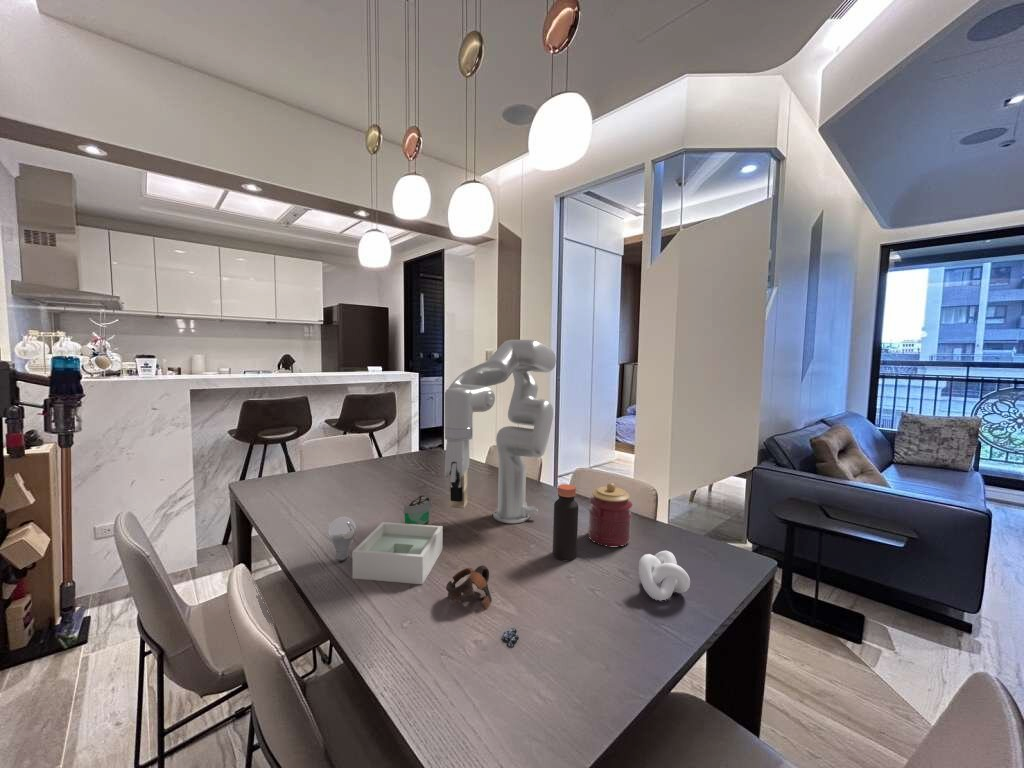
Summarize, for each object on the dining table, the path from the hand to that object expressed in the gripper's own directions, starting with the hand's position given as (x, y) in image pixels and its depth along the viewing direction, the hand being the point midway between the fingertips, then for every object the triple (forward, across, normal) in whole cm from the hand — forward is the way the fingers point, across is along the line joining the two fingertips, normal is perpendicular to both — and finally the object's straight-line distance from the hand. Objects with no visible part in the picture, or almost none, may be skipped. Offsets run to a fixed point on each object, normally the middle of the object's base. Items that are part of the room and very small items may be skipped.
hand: (458, 497), depth 116 cm
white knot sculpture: (+17, +10, +53) cm, 56 cm away
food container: (+17, -13, -15) cm, 27 cm away
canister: (+18, -17, +44) cm, 50 cm away
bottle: (+17, -4, +30) cm, 35 cm away
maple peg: (+2, 0, 0) cm, 2 cm away
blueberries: (+17, +32, +19) cm, 41 cm away
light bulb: (+17, +8, -30) cm, 35 cm away
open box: (+17, +7, -14) cm, 23 cm away
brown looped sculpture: (+17, +20, +8) cm, 27 cm away
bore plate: (+17, +7, -14) cm, 23 cm away
